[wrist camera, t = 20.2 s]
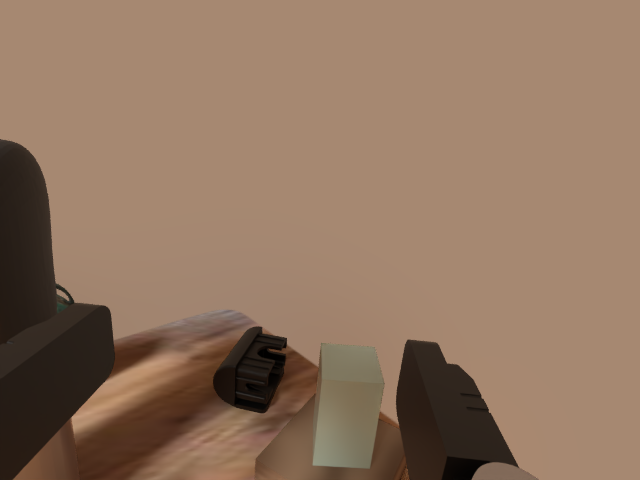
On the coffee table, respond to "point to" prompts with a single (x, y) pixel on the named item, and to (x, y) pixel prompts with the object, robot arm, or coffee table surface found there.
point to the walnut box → (302, 476)
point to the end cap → (251, 371)
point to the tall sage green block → (346, 406)
